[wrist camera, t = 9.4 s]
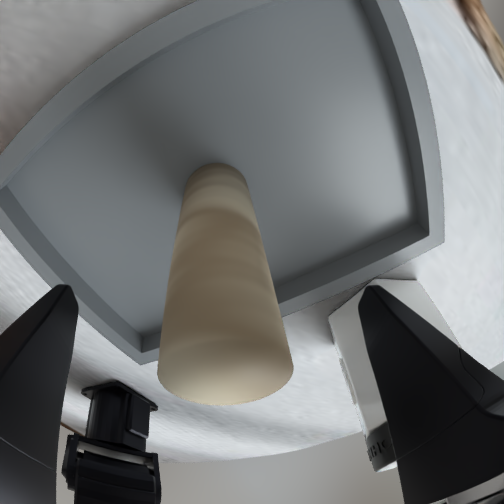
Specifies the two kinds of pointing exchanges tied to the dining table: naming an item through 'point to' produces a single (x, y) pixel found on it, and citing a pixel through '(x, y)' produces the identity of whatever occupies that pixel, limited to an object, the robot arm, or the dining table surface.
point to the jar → (359, 366)
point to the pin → (221, 299)
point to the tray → (231, 155)
